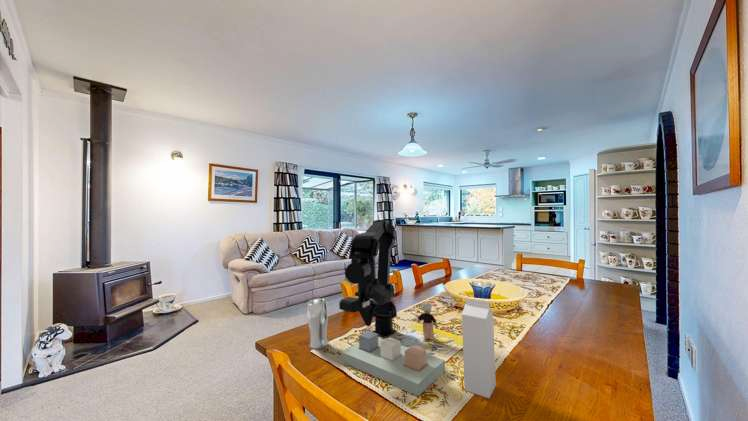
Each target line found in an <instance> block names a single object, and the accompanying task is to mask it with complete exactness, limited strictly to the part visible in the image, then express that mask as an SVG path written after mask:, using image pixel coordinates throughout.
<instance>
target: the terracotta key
mask: <svg viewBox="0 0 748 421" xmlns="http://www.w3.org/2000/svg"><path fill="white" fill-rule="evenodd" d="M407 348H408V349H407V350H405V367H407V368H410V369H412V370H415V371H417V372H420V371H421V370H422V369H423V368H425V367H426V366H427V357H426V354H427V349H426V348H423V347H420V346H417V345H414V344H413V345H412V346H409V347H407Z"/></svg>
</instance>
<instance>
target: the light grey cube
mask: <svg viewBox="0 0 748 421" xmlns="http://www.w3.org/2000/svg"><path fill="white" fill-rule="evenodd" d="M383 340H384V341H382V342H381V343H380V349H381V358H384V359H386V360H389V361H391V362H393V361H395V360H396V359H398V358H399V357H401V346H402V344H401V340H398V339H395V338H392V337H386V338H385V339H383Z"/></svg>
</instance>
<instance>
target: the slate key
mask: <svg viewBox="0 0 748 421" xmlns="http://www.w3.org/2000/svg"><path fill="white" fill-rule="evenodd" d="M378 338H379V335H378V334H377V333H374V332H373V331H370V330H366V331H365V332H363V333H361V334H358V343H359V349H360V350H363V351H366V352H368V353H371V352H372V351H374V350H376V349H377V348H379V345H378Z"/></svg>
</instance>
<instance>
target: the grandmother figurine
mask: <svg viewBox="0 0 748 421" xmlns="http://www.w3.org/2000/svg"><path fill="white" fill-rule="evenodd" d="M432 308H433V307H432V304H431V303H430V302H429V303H428V302H426V303H424V304H423V305H422V307H421V311H423V313H421V314H420V315H418V317H417V320H416V323H418V324H420V323H421V321H422V332H423V338H422V341H423V342H429V343H436V342H437V339H436V338H435V334H434V328H436V329H437V328H438V327H439V325H438V323H437V322H438V321H437V320H436V318H435V317H434V315H433V314H431V311H432Z"/></svg>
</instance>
